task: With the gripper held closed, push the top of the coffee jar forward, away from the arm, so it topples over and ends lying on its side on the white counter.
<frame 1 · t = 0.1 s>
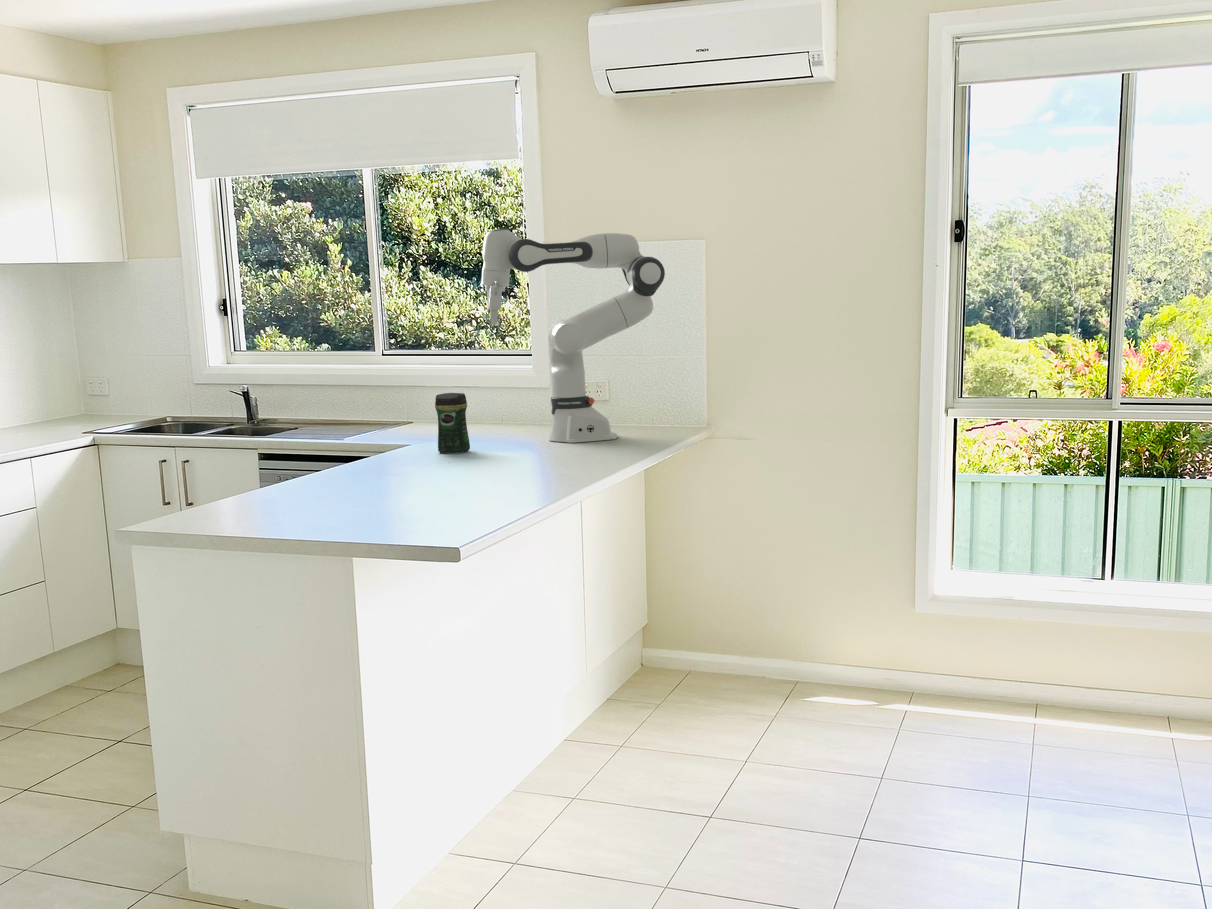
hand: (493, 323, 351), 39 cm above the counter, tool pointing down, fingers open, 8 cm apart
coffee jar: (454, 452, 341), on the counter
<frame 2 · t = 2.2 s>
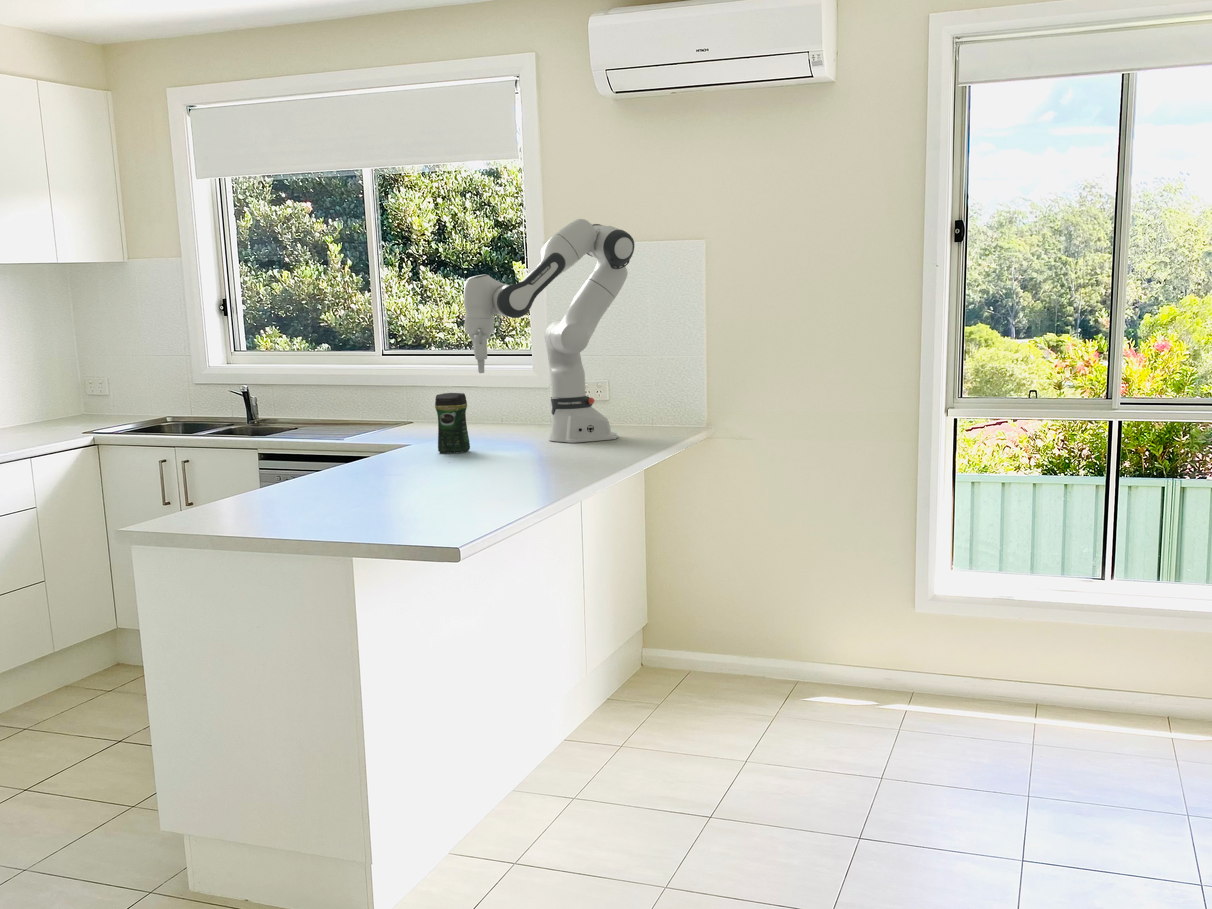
hand: (481, 372, 339), 24 cm above the counter, tool pointing down, fingers closed
nothing on the counter moved.
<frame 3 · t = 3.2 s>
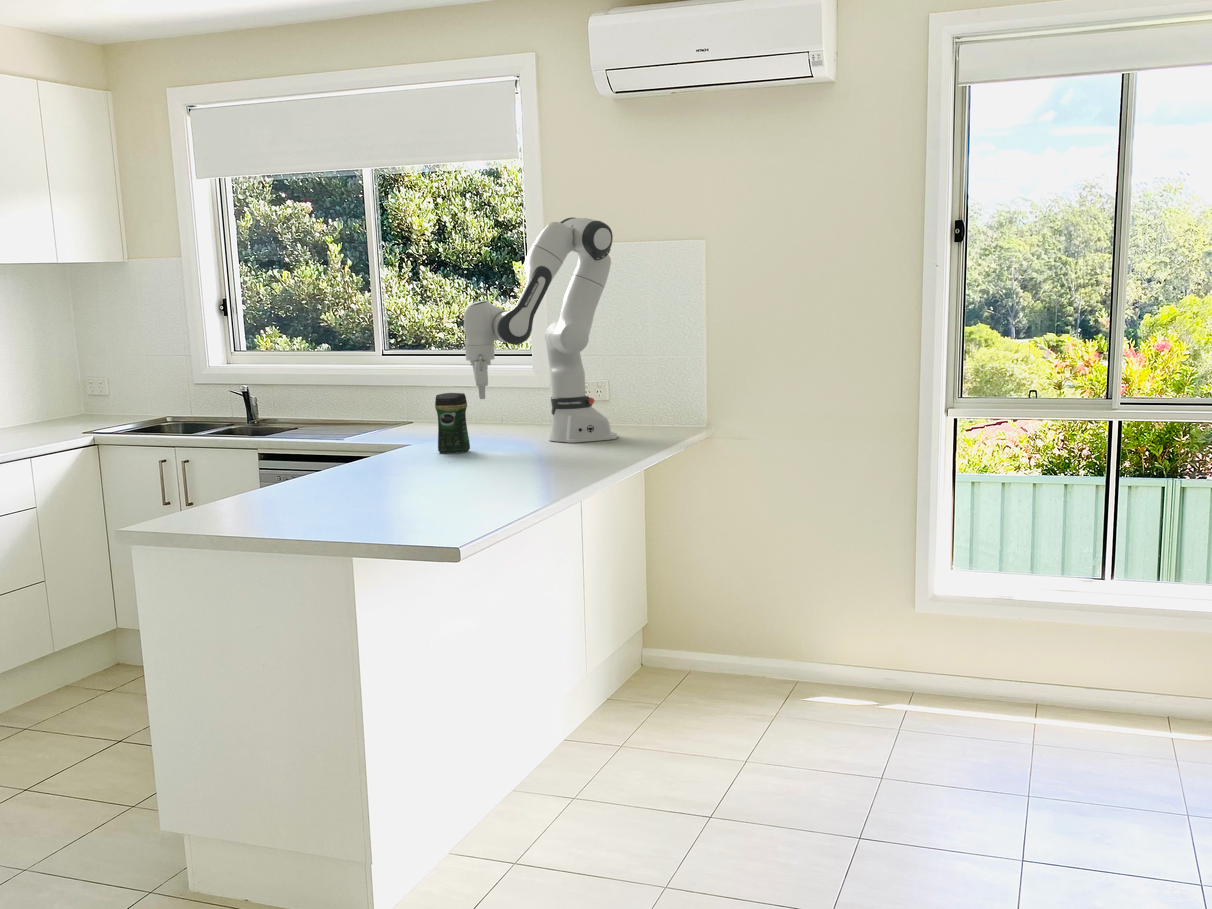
hand: (482, 398, 340), 16 cm above the counter, tool pointing down, fingers closed
nothing on the counter moved.
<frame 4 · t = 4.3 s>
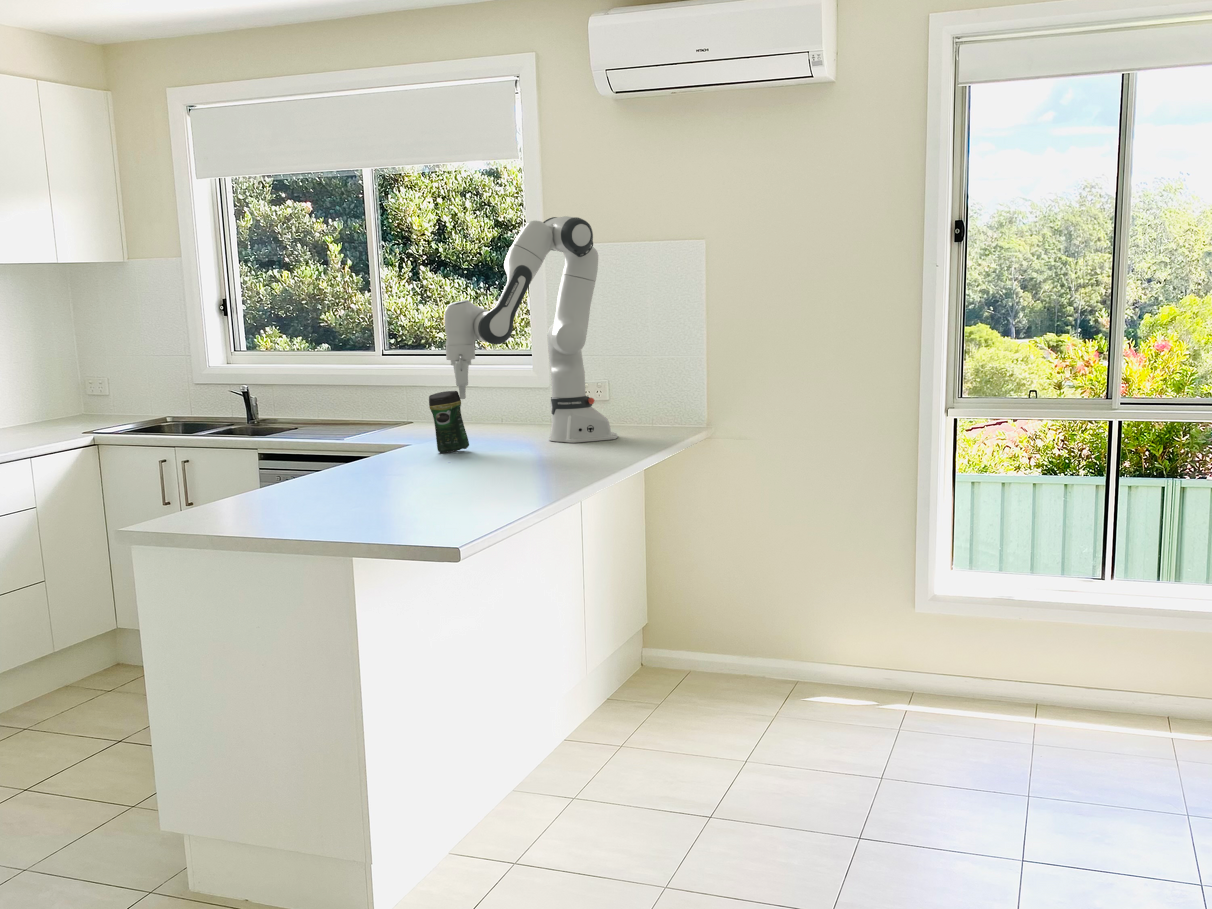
hand: (462, 398, 339), 17 cm above the counter, tool pointing down, fingers closed
coffee jar: (454, 451, 341), on the counter, touching gripper
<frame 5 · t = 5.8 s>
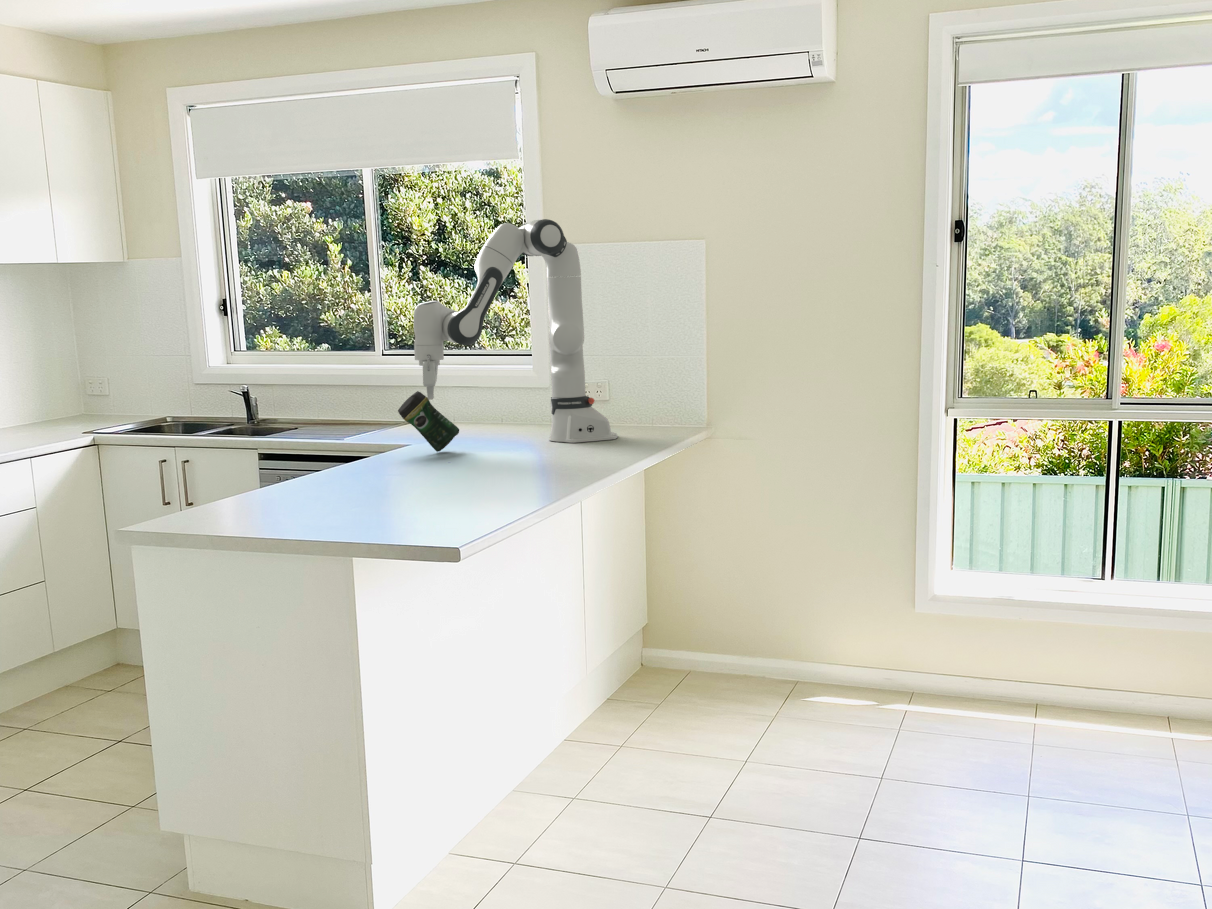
hand: (430, 399, 338), 17 cm above the counter, tool pointing down, fingers closed
coffee jar: (450, 442, 341), point 3 cm above the counter, touching gripper
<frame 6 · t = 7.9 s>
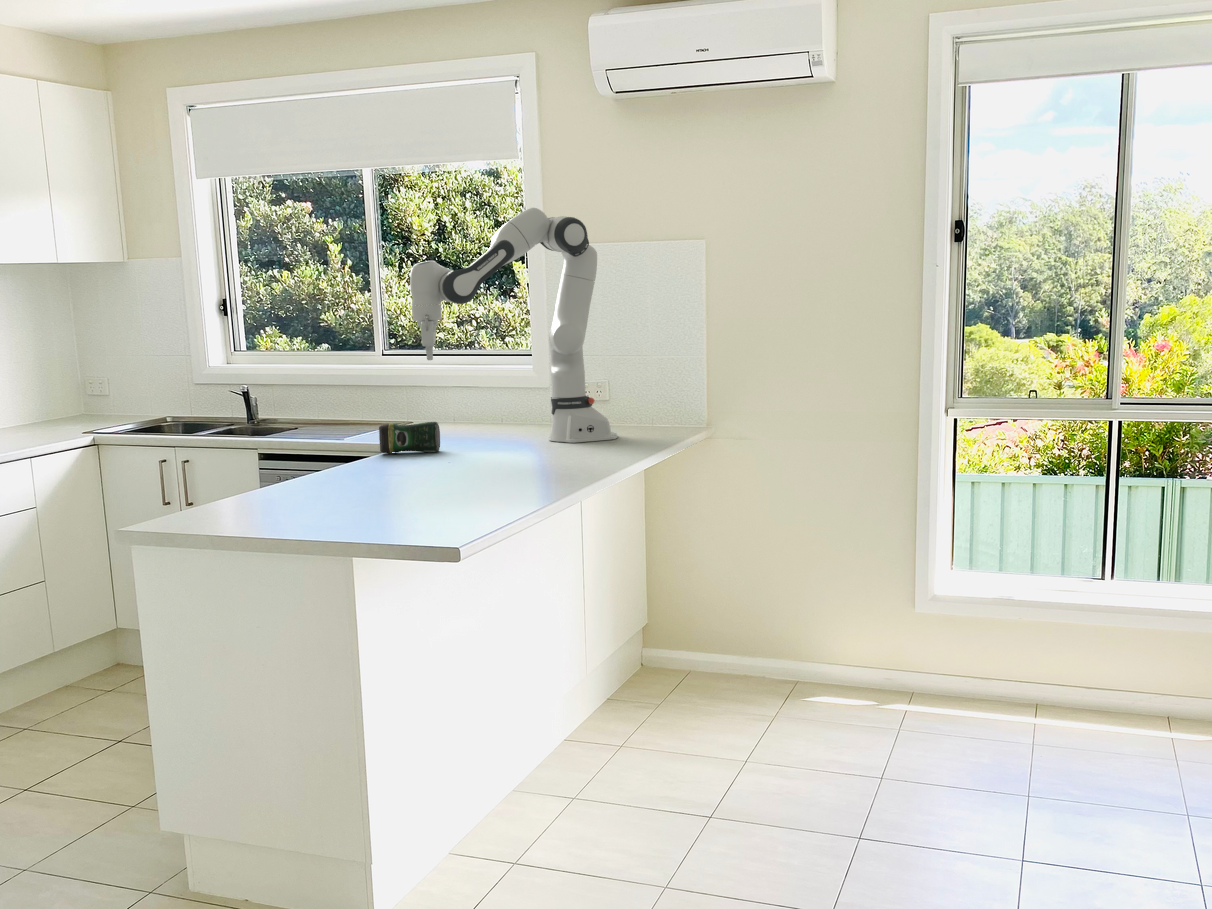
hand: (430, 360, 337), 29 cm above the counter, tool pointing down, fingers closed
coffee jar: (439, 437, 342), point 5 cm above the counter
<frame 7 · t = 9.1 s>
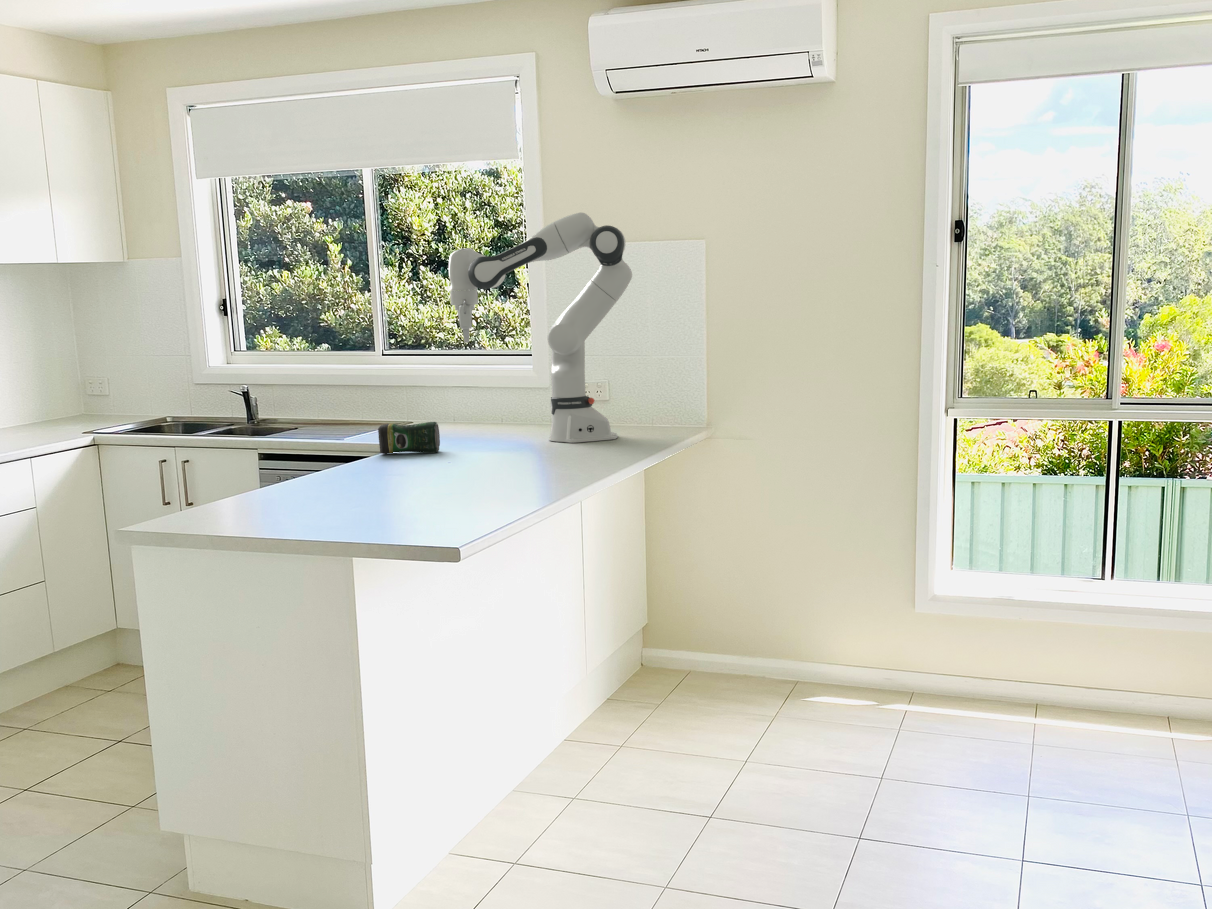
hand: (466, 342, 357), 33 cm above the counter, tool pointing down, fingers closed
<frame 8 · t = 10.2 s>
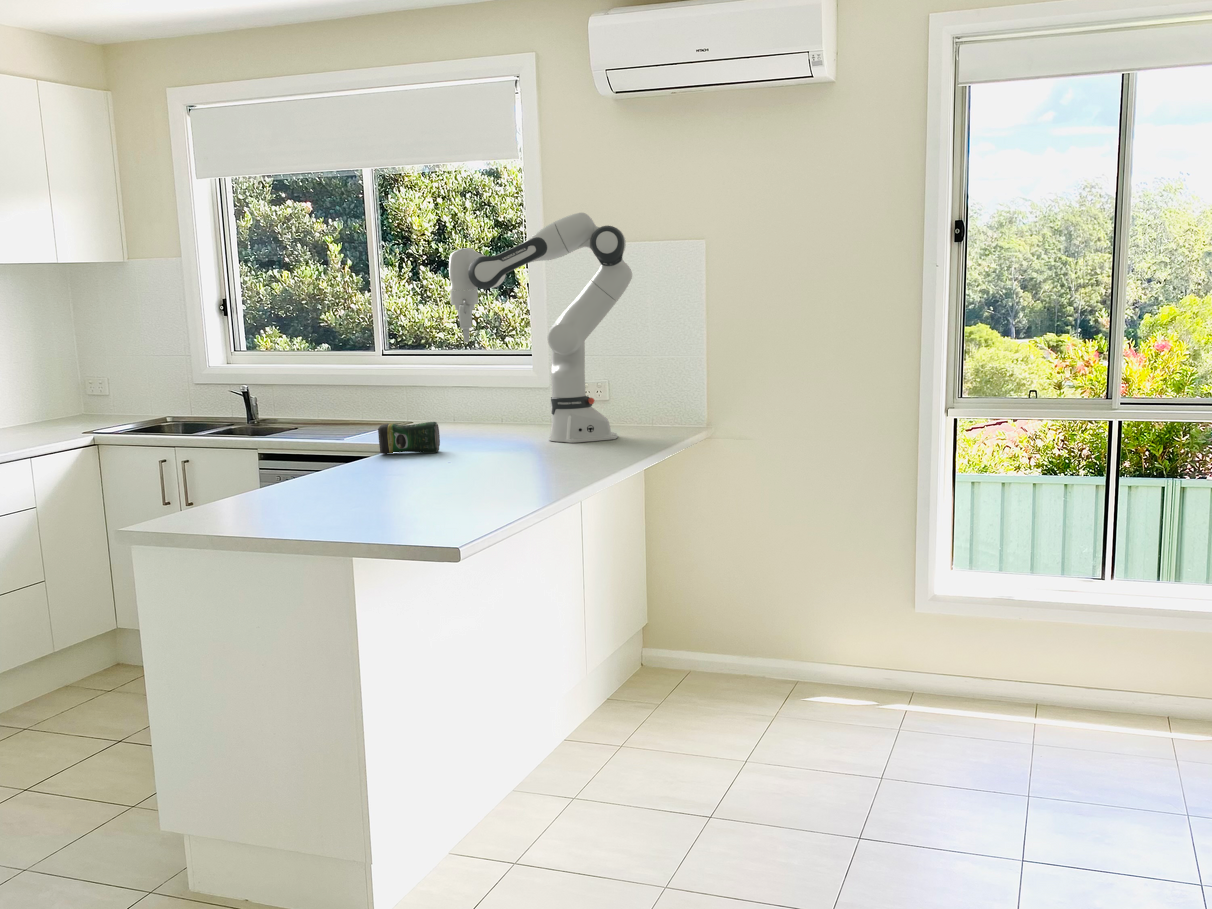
hand: (466, 342, 357), 33 cm above the counter, tool pointing down, fingers closed
nothing on the counter moved.
at the end: coffee jar tilted 89°; coffee jar inside the target area (5.7 cm from its centre), point 4.7 cm above the counter; coffee jar touching counter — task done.
